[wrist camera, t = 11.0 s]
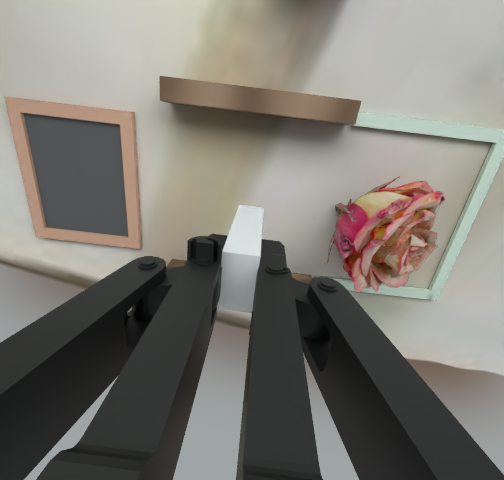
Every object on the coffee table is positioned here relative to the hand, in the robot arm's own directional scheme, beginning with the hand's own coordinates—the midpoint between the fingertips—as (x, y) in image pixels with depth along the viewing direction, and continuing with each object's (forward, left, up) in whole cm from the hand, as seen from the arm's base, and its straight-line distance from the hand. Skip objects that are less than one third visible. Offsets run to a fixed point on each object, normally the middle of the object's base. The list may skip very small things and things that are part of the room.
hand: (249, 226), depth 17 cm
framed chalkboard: (+15, 0, -8) cm, 17 cm away
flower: (-11, +1, -8) cm, 14 cm away
